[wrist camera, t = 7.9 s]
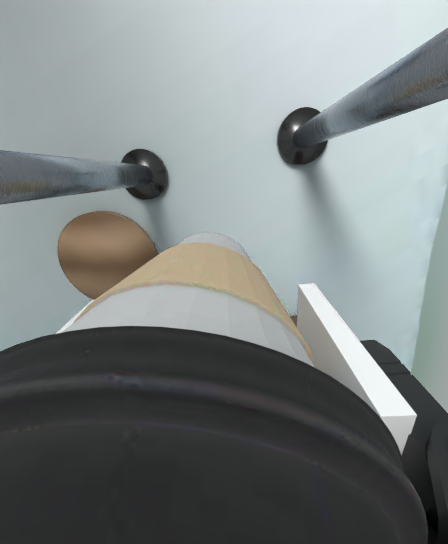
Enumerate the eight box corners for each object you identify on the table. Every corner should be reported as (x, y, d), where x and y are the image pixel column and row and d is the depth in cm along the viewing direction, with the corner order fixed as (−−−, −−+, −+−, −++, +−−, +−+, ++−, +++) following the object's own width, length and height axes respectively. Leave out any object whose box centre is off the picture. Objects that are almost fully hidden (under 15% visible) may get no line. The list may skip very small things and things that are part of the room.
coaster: (45, 222, 28) (39, 224, 27) (139, 201, 27) (136, 202, 26) (88, 307, 32) (84, 311, 31) (170, 292, 31) (168, 296, 30)
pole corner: (115, 155, 25) (-210, 103, 6) (159, 144, 24) (-56, 53, 6) (131, 203, 27) (-83, 267, 8) (173, 193, 26) (42, 239, 8)
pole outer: (273, 115, 23) (447, -108, 5) (325, 103, 23) (738, -202, 4) (279, 169, 25) (420, 157, 7) (327, 158, 25) (620, 113, 6)
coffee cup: (131, 212, 15) (-725, 557, 2) (275, 197, 15) (911, 520, 1) (161, 329, 19) (-19, 746, 5) (277, 321, 18) (422, 757, 5)
